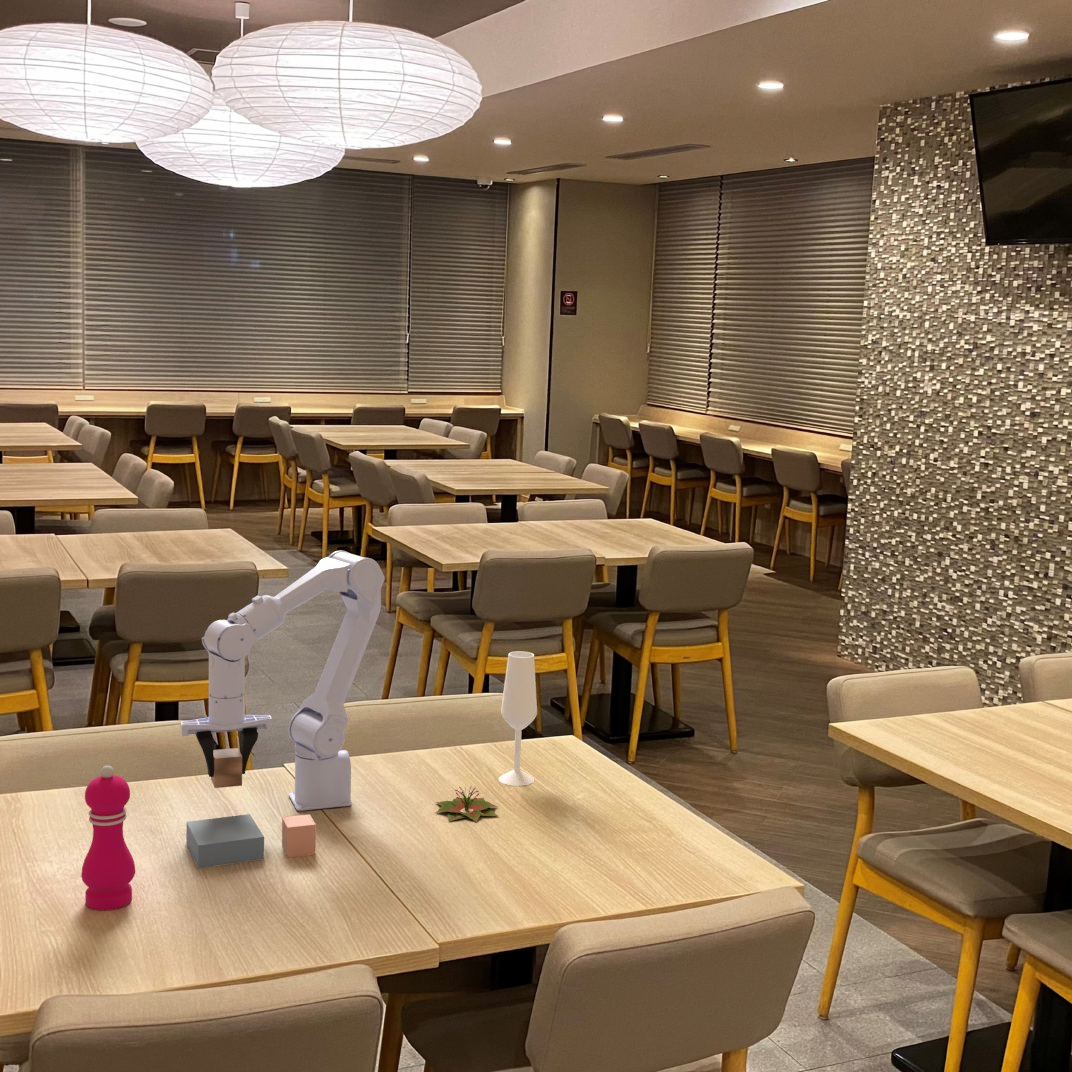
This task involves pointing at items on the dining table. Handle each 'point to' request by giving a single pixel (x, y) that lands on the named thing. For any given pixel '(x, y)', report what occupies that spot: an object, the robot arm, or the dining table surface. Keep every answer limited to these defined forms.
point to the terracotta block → (298, 835)
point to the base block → (224, 840)
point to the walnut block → (227, 768)
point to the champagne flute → (519, 707)
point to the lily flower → (466, 807)
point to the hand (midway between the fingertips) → (226, 773)
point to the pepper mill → (108, 844)
